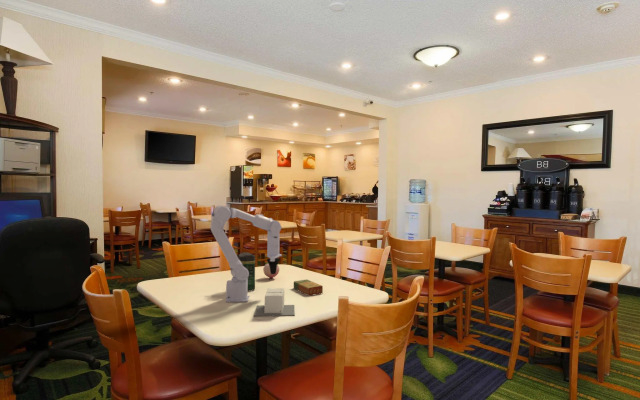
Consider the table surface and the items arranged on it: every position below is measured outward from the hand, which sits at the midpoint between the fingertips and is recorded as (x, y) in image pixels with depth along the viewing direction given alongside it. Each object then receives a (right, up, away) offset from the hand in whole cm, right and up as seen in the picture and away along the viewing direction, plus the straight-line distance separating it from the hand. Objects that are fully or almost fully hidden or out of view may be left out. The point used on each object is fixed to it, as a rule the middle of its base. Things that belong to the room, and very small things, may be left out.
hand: (273, 273), depth 173 cm
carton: (+16, -11, +9) cm, 22 cm away
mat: (+4, -11, -23) cm, 25 cm away
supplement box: (+3, -7, -15) cm, 17 cm away
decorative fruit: (-6, -10, +35) cm, 37 cm away
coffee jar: (-15, -10, +11) cm, 21 cm away
